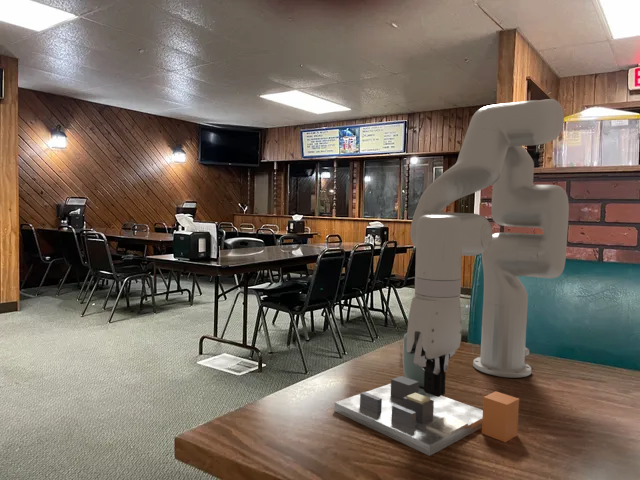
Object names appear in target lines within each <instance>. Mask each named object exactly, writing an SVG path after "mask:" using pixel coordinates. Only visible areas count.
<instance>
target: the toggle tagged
mask: <svg viewBox="0 0 640 480" xmlns="http://www.w3.org/2000/svg"><path fill="white" fill-rule="evenodd" d="M403 407H404V408H407V409H409V410H412V411H414V412H416V421H417V422H419V423H422V424H423V423H425V422H427V421H429V420H431V419H433V409H434V401H433V400H430V398H429V397H426V396H423V395H421V394H418V393H413V394H410V395H408V396H406V397H404V398H403Z"/></svg>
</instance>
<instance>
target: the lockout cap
mask: <svg viewBox="0 0 640 480" xmlns="http://www.w3.org/2000/svg"><path fill="white" fill-rule="evenodd" d="M482 401H483V403H482V410H483V419H482V428H481V434H483V435H485V436H488V437H490V438H493V439H495V440H499V441H501V442H504V443H507V442H508V441H510V440H512V439H514V438H515V437H517V436H518V428H519V427H518V426H519V425H518V424H519V412H520V411H519V407H520V398H519V397H514V396H513V395H508V394H506V393H503V392H499V391H496V390H495V391H494V392H492V393H489V394H487V395H485V396H483V399H482Z"/></svg>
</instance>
